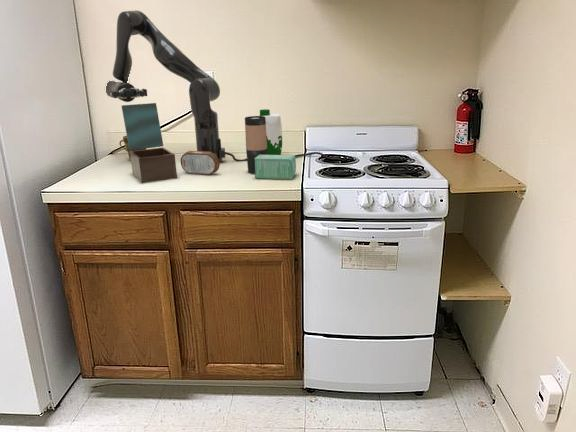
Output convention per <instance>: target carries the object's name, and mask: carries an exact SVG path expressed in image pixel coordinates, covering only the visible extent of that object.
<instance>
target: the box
mask: <svg viewBox="0 0 576 432" xmlns="http://www.w3.org/2000/svg"><path fill="white" fill-rule="evenodd" d="M296 171H297V161H296V157H295V156H294V155H292V154H291V155H290V154H281V155H258V156H257V157H256V158H255V174H254V178H255V179H273V180H292V179H293V178H294V176H295V175H296Z"/></svg>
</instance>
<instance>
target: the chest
mask: <svg viewBox="0 0 576 432" xmlns="http://www.w3.org/2000/svg"><path fill="white" fill-rule="evenodd" d="M130 157H131V161H130V164H131V171H132V175H133V177H135V178H136V179H137V180H138V181H139V182H140V184H145V183H153V182H159V181H160V182H161V181H167V180H173V179H178V173H177V164H176V162H177V161H176V155H175V153H174V152H172V151H170V150H168V148H165V147H153V148H146V149H145V150H136V151H130Z"/></svg>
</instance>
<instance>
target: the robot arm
mask: <svg viewBox="0 0 576 432" xmlns="http://www.w3.org/2000/svg"><path fill="white" fill-rule="evenodd" d="M132 36H141V37H143V38H144V39H145V40H146V41H147V42H148V43H149V44H150V46H151V49H152V54H153V56H154V58H155V59H156V61H157V62H158V63H159V64H160V65H162V66H163V67H164V68H165V69H166V70H167V71H168V72H170V73H171V74H174V75H175V76H178V77H180V78H182V79H183V80H185V81H187V82H189V83H190V84H189V87H188V95H189V104H190V110H191V114H192V115H193V121H194V132H195V133H194V134H195V142H196V151H204V152H212V153H213V154H215V155H216V156H217V158H218V160H219V164H220V163H223V159H226V156H227V155H228V156H230V157H231V158H232V159H233V161H235V162H247V158H243V159H239V158H236V156H235V155H234V154H233V153H230V152H228V151H226V148H225V147H222V140H221V138H220V132H219V119H218V118H219V117H218V113H217V111H215V110H213V109H212V107H211V102H214V101H216V100H218V99H219V97H220V95H221V89H220V85H219V83H218V82H217V80H215V79H214V78H213V77H212V76H210V75H209V74H208V73H207V72H205V71H204V70H203V69H201V68H200V67H199V66H197V64H195V62H193V61H192V60H191V59H190V58H189V57H188V56H187V55H186V54H185V53H184V52H183V51H181V49H180V48H178V46H176V45H175V44H174V43H173V42H172V41H171V40H170V39H168V38H167V36H166V35H165V34H163V32H161V30H160V29H158V28H157V26H156V25H155V24H154V23H153V22H152V21H151V19H150V18H149V17H148V16H147V15H146V14H145V13H144V12H143V11H141V10H136V9H135V10H125V11H121V12H120V13H119V14H118V16H117V21H116V45H115V46H116V47H115V49H116V50H115V59H114V63H113V69H112V76H113V78H115V80H112V81H110V80H108V81H109V82H108V81H107V82H108V83H107V82H106V83H107V86H106V92H105V94H106V93H107V94H106V95H107V97H109V98H112V99H118V100H119V101H122V102H124V103H130V102H133V101H135V99H136V98H140V97H141V98H144V97H148V89H147V88H141V89H140V88H136V87H135V86H134V85H133V84H131V83H130V82H129V83H127V81H128V77H129V74H130V75H131V72H132V68H131V67H133V57H132V54H131V51H130V47H129V44H130V40H131V37H132ZM130 71H131V72H130ZM116 80H117V81H118V82H115V81H116ZM312 155H319V156H322V157H323V158H326V156H327V155H326V154H325V153H322V152H320V151H312V152H308V153H307V152H306V153H298V154H295V155H294V156H295V158H298V157H299V158H300V157H305V156H312Z"/></svg>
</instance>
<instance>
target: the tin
mask: <svg viewBox="0 0 576 432" xmlns="http://www.w3.org/2000/svg"><path fill="white" fill-rule="evenodd" d="M180 165H181V168H182V170H183V171H184V172H185V173H187V174H190V175H203V176H210V175H213V174H215V173H216V172H218V171H219V169H220V163H219V160H218V158H217V156H216V155H215V154H213V153H212V152H204V151H197V150H188V151H186V152H185V153H183V154H182V155H181V157H180Z"/></svg>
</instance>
